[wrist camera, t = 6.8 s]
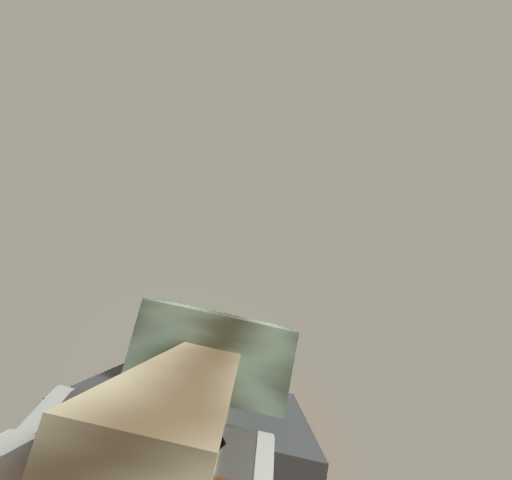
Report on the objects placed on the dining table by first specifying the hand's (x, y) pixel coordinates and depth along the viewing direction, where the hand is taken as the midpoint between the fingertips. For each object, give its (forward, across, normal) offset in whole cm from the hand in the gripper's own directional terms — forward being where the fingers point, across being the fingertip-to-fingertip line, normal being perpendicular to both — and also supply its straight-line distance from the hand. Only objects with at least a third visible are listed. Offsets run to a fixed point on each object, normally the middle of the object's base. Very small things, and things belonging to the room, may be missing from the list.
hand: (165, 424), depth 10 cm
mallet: (+4, 0, -5) cm, 7 cm away
